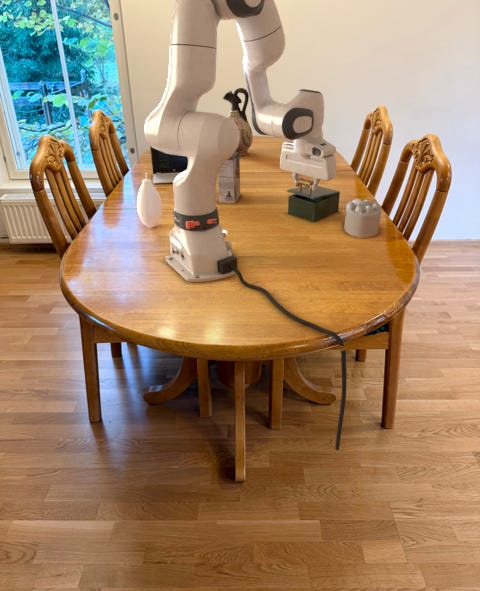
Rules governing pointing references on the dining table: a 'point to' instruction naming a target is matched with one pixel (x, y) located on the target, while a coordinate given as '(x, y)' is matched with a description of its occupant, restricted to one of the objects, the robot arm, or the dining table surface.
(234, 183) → the coffee box
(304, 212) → the case
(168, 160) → the laptop
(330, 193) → the case lid
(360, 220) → the lumpy-topped squat cylinder
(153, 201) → the sauce bottle
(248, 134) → the ceramic jug
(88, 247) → the dining table surface
